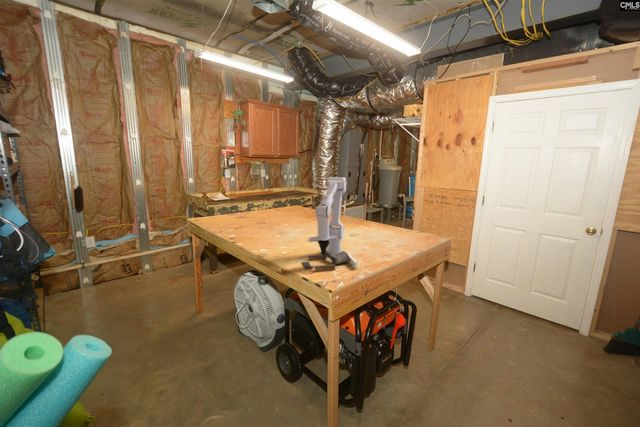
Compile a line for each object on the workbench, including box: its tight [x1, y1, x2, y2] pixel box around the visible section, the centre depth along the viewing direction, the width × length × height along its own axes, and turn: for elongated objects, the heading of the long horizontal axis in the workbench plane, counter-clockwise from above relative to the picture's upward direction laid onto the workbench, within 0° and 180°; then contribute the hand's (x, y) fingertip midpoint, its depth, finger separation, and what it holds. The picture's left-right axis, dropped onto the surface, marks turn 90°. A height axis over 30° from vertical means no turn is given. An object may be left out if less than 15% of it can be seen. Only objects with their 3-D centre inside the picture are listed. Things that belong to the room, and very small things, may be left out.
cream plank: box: [342, 249, 358, 270], centre depth 149 cm, size 20×1×4 cm, turn 14°
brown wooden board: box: [308, 254, 336, 272], centre depth 146 cm, size 17×10×2 cm, turn 14°
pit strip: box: [301, 261, 313, 271], centre depth 144 cm, size 10×4×1 cm, turn 14°
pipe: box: [325, 249, 350, 265], centre depth 149 cm, size 6×13×8 cm
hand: (323, 254), depth 145 cm, fingers closed
